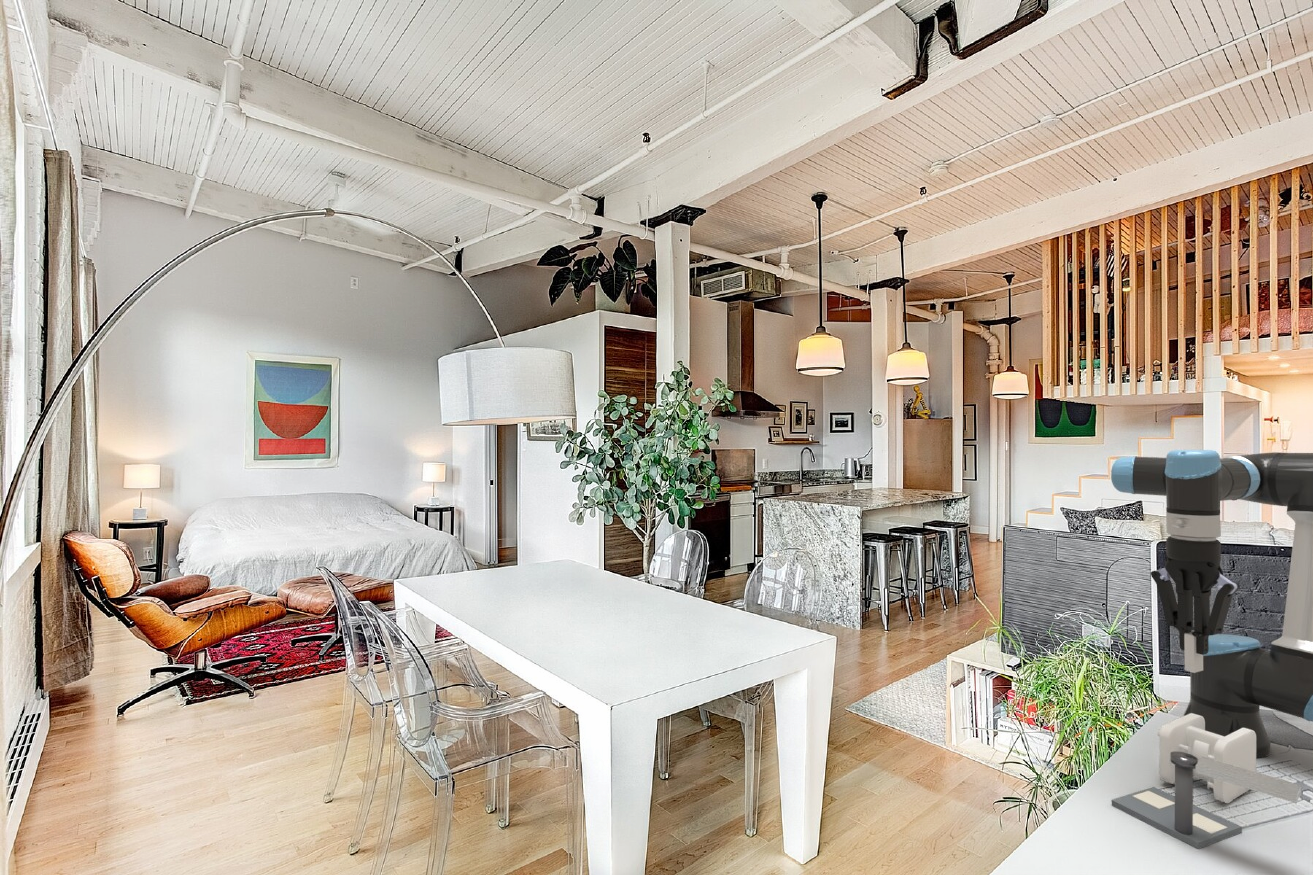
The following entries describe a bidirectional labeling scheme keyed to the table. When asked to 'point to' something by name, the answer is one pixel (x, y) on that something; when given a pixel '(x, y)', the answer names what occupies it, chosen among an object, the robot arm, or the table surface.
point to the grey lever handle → (1238, 776)
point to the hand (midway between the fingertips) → (1193, 670)
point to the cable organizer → (1206, 751)
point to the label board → (1169, 819)
